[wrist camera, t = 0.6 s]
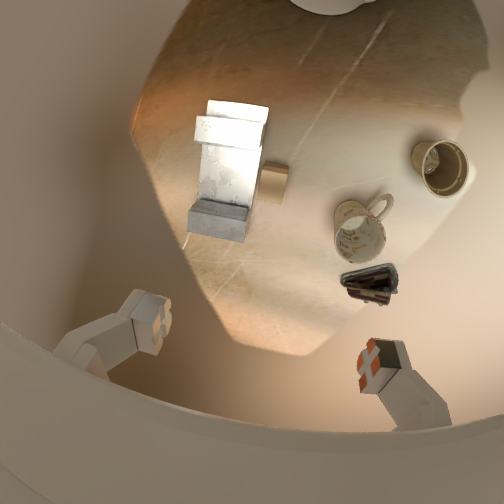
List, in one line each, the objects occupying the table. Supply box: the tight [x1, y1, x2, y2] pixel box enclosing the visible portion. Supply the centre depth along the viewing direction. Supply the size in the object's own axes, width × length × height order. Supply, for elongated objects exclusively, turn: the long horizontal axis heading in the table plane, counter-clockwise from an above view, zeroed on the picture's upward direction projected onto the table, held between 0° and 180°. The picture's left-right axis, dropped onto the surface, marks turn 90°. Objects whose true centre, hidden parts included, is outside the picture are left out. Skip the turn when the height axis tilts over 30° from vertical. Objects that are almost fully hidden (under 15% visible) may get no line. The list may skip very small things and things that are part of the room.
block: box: [257, 162, 288, 205], centre depth 45 cm, size 5×4×6 cm
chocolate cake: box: [340, 264, 399, 306], centre depth 54 cm, size 10×7×12 cm
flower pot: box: [411, 140, 469, 198], centre depth 37 cm, size 9×9×9 cm
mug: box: [334, 194, 394, 264], centre depth 44 cm, size 8×13×10 cm, turn 141°
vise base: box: [194, 100, 269, 237], centre depth 45 cm, size 24×10×6 cm, turn 171°
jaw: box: [187, 199, 250, 243], centre depth 49 cm, size 5×10×5 cm, turn 81°
